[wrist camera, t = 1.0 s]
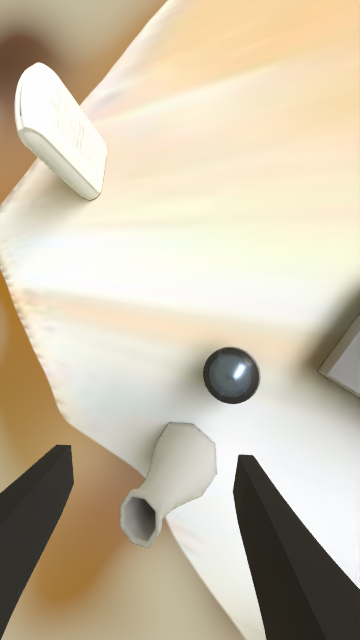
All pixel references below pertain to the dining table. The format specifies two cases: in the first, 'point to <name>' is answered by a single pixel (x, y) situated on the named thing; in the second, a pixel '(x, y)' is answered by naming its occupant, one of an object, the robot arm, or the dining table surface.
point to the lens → (231, 375)
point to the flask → (169, 481)
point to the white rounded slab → (59, 131)
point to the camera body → (345, 360)
